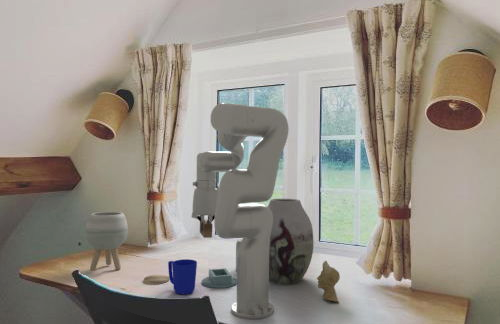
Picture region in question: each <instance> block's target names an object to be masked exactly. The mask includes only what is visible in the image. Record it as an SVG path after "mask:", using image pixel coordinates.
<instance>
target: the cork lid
mask: <svg viewBox="0 0 500 324" xmlns="http://www.w3.org/2000/svg"><path fill="white" fill-rule="evenodd" d="M167 282H170V278H169V275H167V274H166V275H165V274H152V275H147V276H145V277H144V278H143V283H145V284H147V285H161V284H167Z"/></svg>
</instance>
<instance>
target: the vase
mask: <svg viewBox="0 0 500 324" xmlns="http://www.w3.org/2000/svg"><path fill="white" fill-rule="evenodd" d="M269 200H270V201H269V203H268V205H267V207H268V208H269V209H270V210H271V212H272V214H273V226H272V231H271V236H270V246H269V282H271V283H274V284H277V285H294V284H297V283H299V282H301V281H302V280H303V278H304V277H305V275H306V274H307V272H308V269H309V268H310V267H309V266H310V265H311V262H312V260H313V259H312V258H313V252H314V231H313V225H312V221H311V219H310V217H309V215H308V214H307V212H306V210H305V209H304V207H303V205H302V203H301V200H300V199H296V198H270V199H269Z"/></svg>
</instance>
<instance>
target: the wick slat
mask: <svg viewBox="0 0 500 324" xmlns="http://www.w3.org/2000/svg"><path fill="white" fill-rule="evenodd" d="M204 220H205V222H204V223H203V228H202V231H201V222H200V221H199V234H200V235H201V236H202V237H203V238H207V239H208V238H210V239H211V238H213V223H211V222H207V220H208V219H204Z"/></svg>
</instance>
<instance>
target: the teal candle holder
mask: <svg viewBox="0 0 500 324" xmlns="http://www.w3.org/2000/svg"><path fill="white" fill-rule="evenodd" d="M201 284H202V285H203V287H208V288H213V289H226V288H232V287H235V286H237V277H234V276H232V274H231V273H230V272H229V270H228V269H227V268H225V267H224V268H223V267H222V268H210V269H208V276H207V277H205V278H202V279H201Z"/></svg>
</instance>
